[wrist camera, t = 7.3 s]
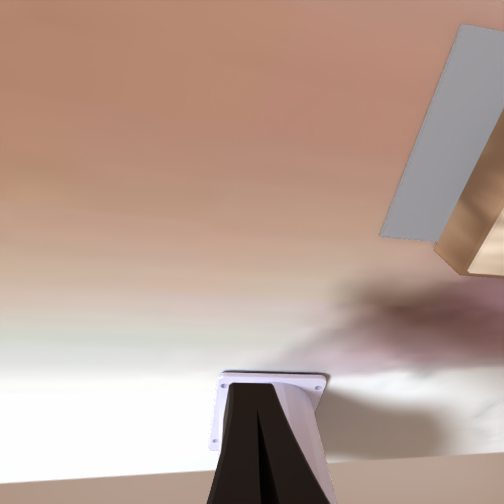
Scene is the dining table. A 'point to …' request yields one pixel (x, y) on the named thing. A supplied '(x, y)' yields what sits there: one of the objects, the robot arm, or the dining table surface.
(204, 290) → the dining table surface
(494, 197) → the walnut slab
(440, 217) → the mat
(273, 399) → the robot arm
